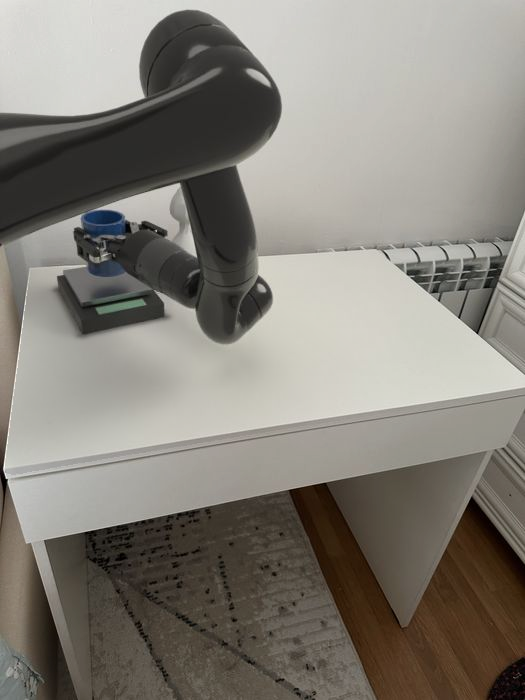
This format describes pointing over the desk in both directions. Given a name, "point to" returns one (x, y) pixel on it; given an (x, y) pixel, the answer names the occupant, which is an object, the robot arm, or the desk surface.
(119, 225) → the cup
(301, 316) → the desk surface
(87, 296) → the scale pan
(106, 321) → the scale
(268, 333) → the desk surface
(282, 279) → the desk surface
